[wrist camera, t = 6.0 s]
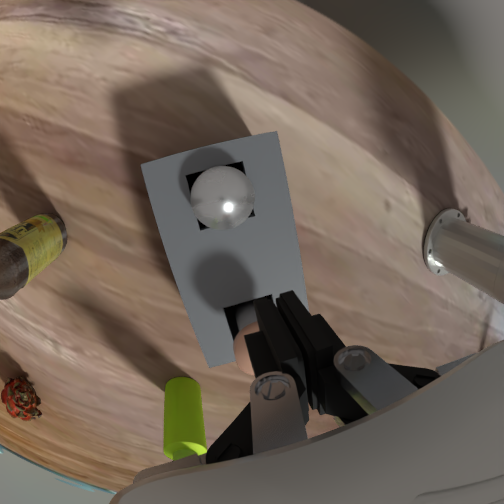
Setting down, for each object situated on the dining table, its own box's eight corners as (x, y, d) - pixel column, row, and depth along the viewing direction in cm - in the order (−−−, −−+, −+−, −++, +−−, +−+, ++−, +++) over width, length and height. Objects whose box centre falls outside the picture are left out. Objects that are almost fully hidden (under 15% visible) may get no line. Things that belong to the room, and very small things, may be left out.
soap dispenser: (153, 386, 41) (147, 492, 23) (187, 371, 41) (195, 482, 23) (173, 406, 43) (177, 505, 25) (207, 392, 44) (222, 496, 25)
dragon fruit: (32, 364, 37) (35, 393, 41) (-6, 365, 31) (2, 395, 35) (44, 403, 33) (46, 428, 37) (2, 406, 26) (11, 432, 30)
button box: (253, 138, 33) (276, 131, 23) (286, 297, 40) (312, 337, 31) (155, 163, 31) (140, 164, 22) (204, 321, 39) (209, 367, 30)
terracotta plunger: (267, 284, 30) (289, 321, 23) (276, 324, 32) (297, 365, 25) (219, 298, 30) (228, 339, 23) (231, 337, 31) (243, 382, 24)
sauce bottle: (59, 203, 30) (-42, 253, 12) (76, 248, 32) (-6, 329, 14) (25, 221, 29) (-71, 277, 11) (42, 263, 32) (-39, 341, 13)
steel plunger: (234, 159, 29) (247, 159, 22) (245, 206, 31) (260, 220, 24) (186, 171, 28) (183, 175, 22) (198, 218, 30) (199, 237, 23)
